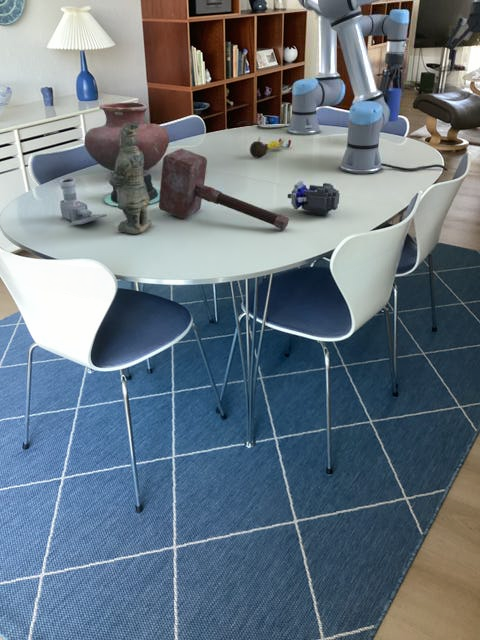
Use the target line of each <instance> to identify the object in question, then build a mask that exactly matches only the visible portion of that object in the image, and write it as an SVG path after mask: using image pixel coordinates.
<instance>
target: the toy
mask: <svg viewBox="0 0 480 640" xmlns="http://www.w3.org/2000/svg"><path fill="white" fill-rule="evenodd" d="M293 187H294V188H293V189H292V191H291V193H288V194H287V199H291V200H290V201H291V202H290V203H291V206H292V207H293V210H298V209H299V208H301V210H303V211H306V212H307V214H310V215H311V214H312V215H318V216H326V215H328V213H330V212H331V211H336V210H337V209H338V205H339V204H340V194H341V193H340V190H338V189H337V188H335V187H334V184H332V183H328V182H324V183H322V185H315V184H310V185H309V186H308V187H309V188H308V187H307V185H306V184H305V183H304V181H301V180H299V181H298V182H296V183H295V184H294V186H293Z"/></svg>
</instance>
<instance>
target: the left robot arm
mask: <svg viewBox="0 0 480 640" xmlns="http://www.w3.org/2000/svg"><path fill="white" fill-rule="evenodd" d="M297 1H298V3H299V4H300V6H302V7H303V8H304V9H305V10H307V11H310V12H313V11H314V14H315V15H316V17H317V55H318V57H317V58H318V61H317V62H318V63H317V64H318V67H317V69H318V73H317V74H316V76H315V77H314V78H313V77H309V78H303V79H298V80H296V81H295V82H294V83H293V84H292V91H291V95H292V96H291V97H292V98H291V117H290V120H289V123H288V125H282V126H260V123H259V122H253V121H249V120H243V121H239V122H238V123H237V126H240V125H241V124H245V123H246V124H252V125H254V126H255V125H256V126H257V128H259V129H262V130H275V129H287V133H288V134H291V135H298V136H300V135H301V136H307V135H315V134H318V133H319V132H320V126H319V121H318V117H317V108H324V107H333V106H337V105H338V104H340V103H341V102H342V101H343V99H344V97H345V93H346V85H345V83H344V81H343V80H342V79H341V75H340V74H339V73H338V64H337V63H338V62H337V61H338V60H337V58H338V57H337V54H338V53H337V52H338V51H337V50H338V49H337V47H338V45H337V44H338V42H337V41H338V39H337V38H338V34H337V32H336V31H335V30H333V29H332V28H331V25H330V21H329V18H327V17H325V16H324V15H323V14H322V13H321V11H320V9H319V6H318V0H297ZM409 23H410V11H409V10H408V9H391V10H390V11H389V14H380V13H377V14H369V15H368V14H367V15H362V18H361V20H360V25H361V29H362V33H363V37H376V36H381V37H383V36H385V37H387V38H386V39H387V40H386V46H385V52H386V53H385V55H384V63H385V64H387V66H386V68H385V69H384V68H383V69H382V71H381V72H382V75H381V81H380V84H379V85H380V86H379V90H380V91H381V92H382V94H383V97H384V101H385V102H386V104H387V102H388V97H387V94H388V91H389V88H391V85H392V88H400V89H402V91H401V93H402V92H403V78H404V77H403V75H404V67H405V66H403V65H402V64H404V61H405V53H404V52H406V47H407V36H408V29H409ZM401 65H402V66H401Z"/></svg>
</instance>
